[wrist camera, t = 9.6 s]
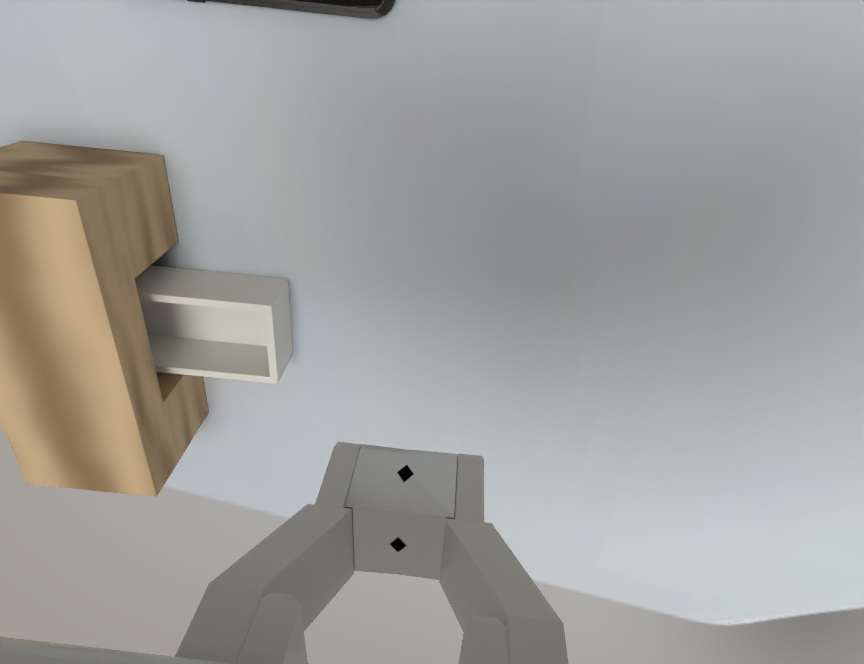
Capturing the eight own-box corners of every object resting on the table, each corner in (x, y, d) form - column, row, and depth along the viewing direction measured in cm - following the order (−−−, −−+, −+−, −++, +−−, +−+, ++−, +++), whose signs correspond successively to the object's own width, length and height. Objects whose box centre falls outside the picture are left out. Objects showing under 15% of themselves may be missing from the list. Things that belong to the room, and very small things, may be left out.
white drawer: (289, 276, 36) (271, 305, 33) (293, 350, 39) (277, 383, 36) (82, 256, 36) (43, 283, 33) (103, 331, 39) (69, 363, 36)
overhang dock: (163, 154, 32) (75, 200, 25) (208, 412, 43) (156, 496, 35) (20, 140, 32) (-108, 182, 25) (101, 401, 43) (27, 484, 35)
